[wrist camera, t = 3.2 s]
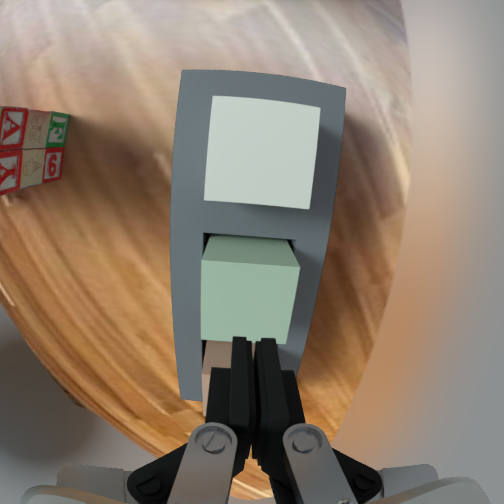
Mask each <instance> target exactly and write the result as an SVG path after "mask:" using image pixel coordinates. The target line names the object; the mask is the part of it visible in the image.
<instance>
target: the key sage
mask: <svg viewBox="0 0 504 504" xmlns="http://www.w3.org/2000/svg"><path fill="white" fill-rule="evenodd" d="M299 271H300V266H299V264H298V262H297V260H296V258H295V256H294V254H293V252H292V250H291V248H290V246H289V244H288V242H287V240H286V239H282V238H270V237H257V236H244V235H231V234H218V233H211V236H210V238H209V241H208V244H207V246H206V249H205V252H204V254H203V257H202V260H201V339H203V340H215V341H228V342H232V339H233V336H241V337H247V340H248V341H252V343H255V342H256V341H261V338H275V339H276V344H286V340H287V335H288V330H289V325H290V320H291V315H292V310H293V305H294V299H295V294H296V289H297V283H298V277H299Z"/></svg>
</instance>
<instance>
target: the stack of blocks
mask: <svg viewBox="0 0 504 504" xmlns="http://www.w3.org/2000/svg"><path fill="white" fill-rule="evenodd" d="M69 118H70V115H69V114H65V113H60V112H54V111H40V110H29V109H28V108H22V107H12V106H0V196H2V195H5V194H8V193H11V192H14V191H18V190H19V189H23V188H26V187H29V186H33V185H38V184H44V183H48V182H52V181H57V180H60V178H61V169H62V161H63V153H64V144H65V138H66V132H67V127H68V122H69Z"/></svg>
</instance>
